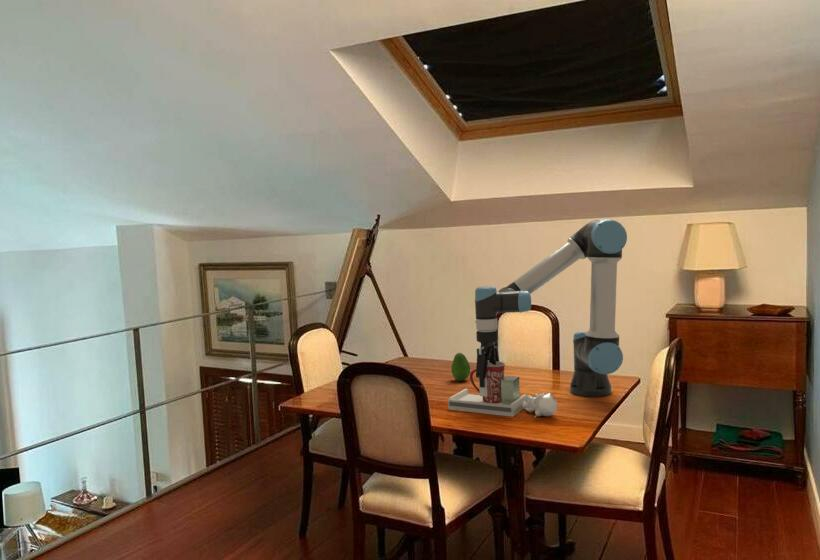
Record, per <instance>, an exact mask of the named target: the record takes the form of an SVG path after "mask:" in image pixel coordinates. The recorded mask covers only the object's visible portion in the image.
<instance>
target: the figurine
mask: <svg viewBox="0 0 820 560" xmlns="http://www.w3.org/2000/svg"><path fill="white" fill-rule="evenodd" d="M526 400H527V402H522V407H523V409H524V410H526V411H527V412H529V413H532V412H534V414H535V416H534V418H537V417H541V416H543V417H550V416H553V415H554V414H556V412H557V409H558V402H557V400H556V398H555V397H554V396H553V395H552V391H550V392H548V393H545V392H543V393H540V394H537V393H535V394H534V396H532V395H530V394H527V396H526Z"/></svg>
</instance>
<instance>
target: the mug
mask: <svg viewBox="0 0 820 560" xmlns="http://www.w3.org/2000/svg"><path fill="white" fill-rule="evenodd" d="M505 365H506V363H505V362H503V361H500V360H499V361H496V365H494V364H491V363H490V362H489V360H488V365H487V372H486V378H487V392H488V396H487V397H485V396H483V401H484V402H486V403H500V402H502V394H501V379H503V378H504V377H505ZM474 373H476V368H474V369H472V370H470V374H469V381H470V382H471V384H472V386H473V388H474V389H475V390H476V391H477V392H478V394H480V392H479V388H478V386H477V385H476V384H475V382H474V377H473V376H474Z"/></svg>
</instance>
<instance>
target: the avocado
mask: <svg viewBox="0 0 820 560" xmlns="http://www.w3.org/2000/svg"><path fill="white" fill-rule="evenodd" d="M451 373H452V377H453V378H454V379H455V380H456V381H459V382H462V381H465V380H467V379H468V377H470V373H471V366H470V363H469V361H468V359H467V357H466V356H465V355H464V354H463V353H461V352H457V353H456V354H455V355H454V357H453V361H452V364H451Z"/></svg>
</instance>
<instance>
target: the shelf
mask: <svg viewBox="0 0 820 560" xmlns="http://www.w3.org/2000/svg"><path fill="white" fill-rule="evenodd" d="M527 395H528V394H527V393H524V394H522V395H520V398H518V399H517V400H515V401H514V402H513V403H511V404H510V405H503V404H502V402H500V403H486V402H484V401H483V396H480V394H472V393H471V394H470V393H469V389H468V388H464V389H462V390H461V391H458V392H457V393H455V394H454V395H451V396H450V397H449V398H448V399H447V400H448V401H447V405H448V410H450V411H451V410H452V411H459V412H466V413H467V412H468V413H469V412H470V413H477V414H485V415H495V416H503V417H512V418H513V417H515V416H516V415H517V414H519V412H520V411H522V410H523V409H524V408H523V407H522V402H527V400H526V396H527ZM527 403H528V402H527Z"/></svg>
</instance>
